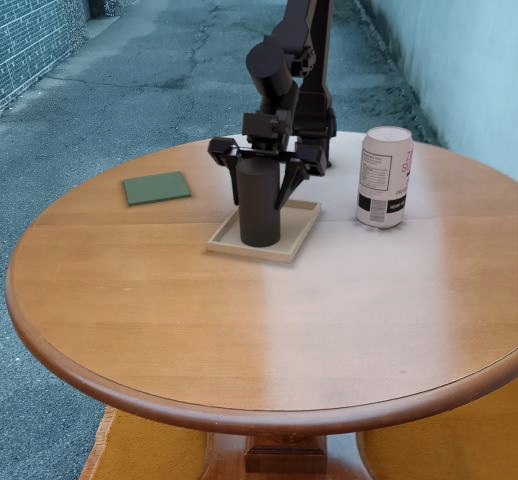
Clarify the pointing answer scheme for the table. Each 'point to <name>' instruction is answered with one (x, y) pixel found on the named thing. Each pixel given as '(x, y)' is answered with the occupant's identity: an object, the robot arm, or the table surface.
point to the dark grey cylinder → (258, 201)
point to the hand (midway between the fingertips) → (256, 207)
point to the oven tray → (291, 228)
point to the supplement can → (384, 176)
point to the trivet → (156, 188)
